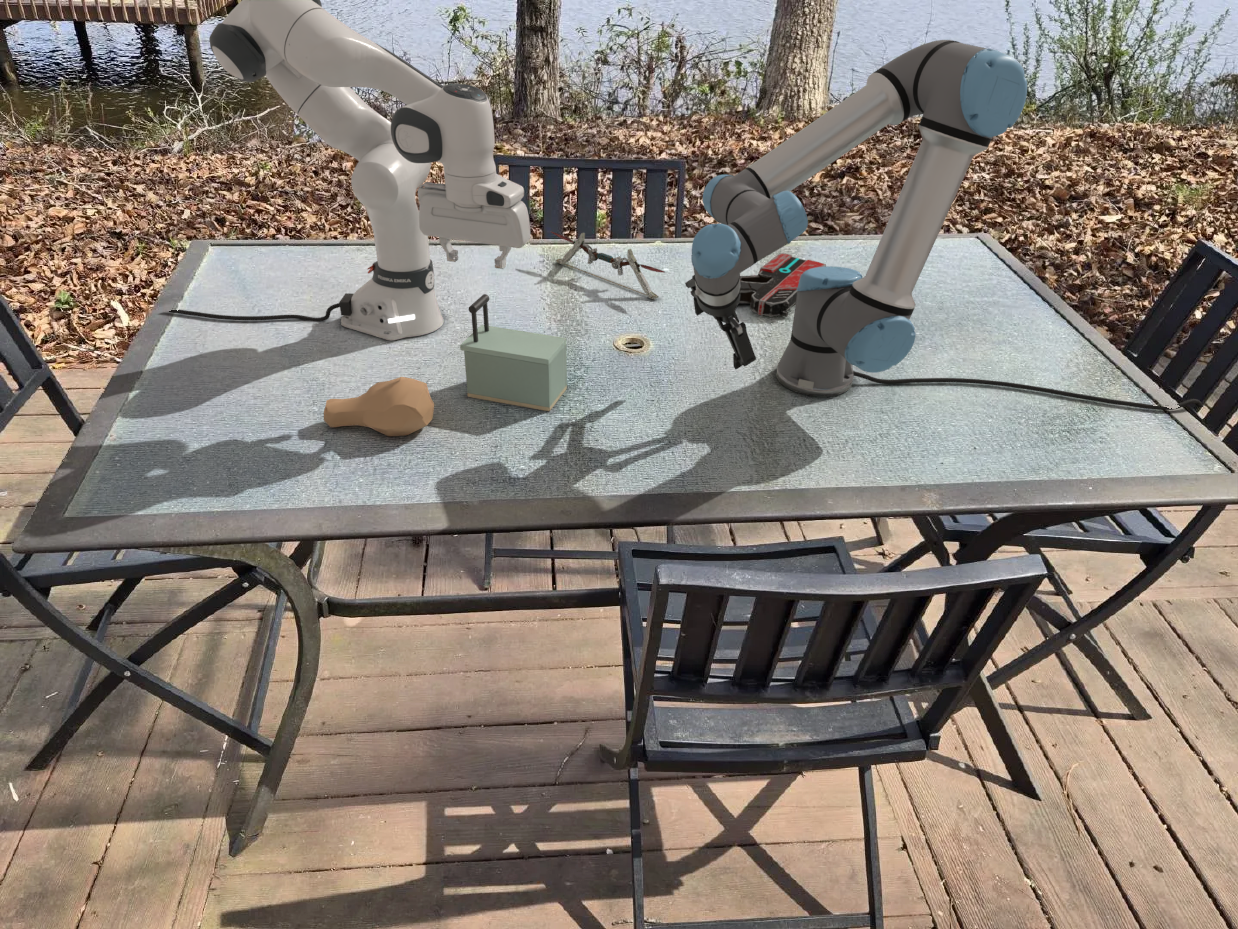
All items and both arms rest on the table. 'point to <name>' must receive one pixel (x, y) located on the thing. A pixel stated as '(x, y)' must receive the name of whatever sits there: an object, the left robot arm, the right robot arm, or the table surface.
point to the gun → (775, 285)
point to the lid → (509, 340)
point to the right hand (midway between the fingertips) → (721, 337)
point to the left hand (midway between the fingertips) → (476, 264)
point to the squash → (385, 408)
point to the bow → (616, 262)
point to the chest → (516, 380)
